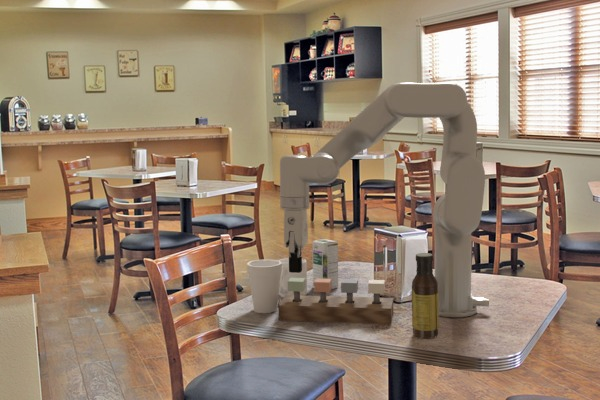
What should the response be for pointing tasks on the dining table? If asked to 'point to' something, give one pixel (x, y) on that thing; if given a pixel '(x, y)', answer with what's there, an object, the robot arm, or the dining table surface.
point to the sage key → (296, 287)
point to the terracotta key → (322, 287)
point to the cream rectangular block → (376, 289)
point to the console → (336, 309)
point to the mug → (287, 275)
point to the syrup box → (325, 261)
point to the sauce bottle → (425, 299)
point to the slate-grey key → (349, 288)
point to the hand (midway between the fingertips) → (295, 271)
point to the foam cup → (264, 284)
